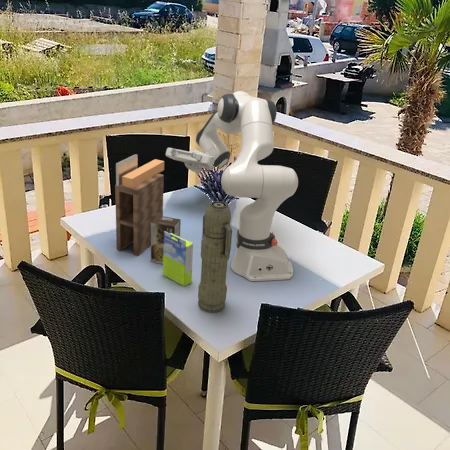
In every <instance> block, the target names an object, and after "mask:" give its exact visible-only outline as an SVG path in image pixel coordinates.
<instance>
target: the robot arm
mask: <svg viewBox="0 0 450 450" xmlns="http://www.w3.org/2000/svg"><path fill="white" fill-rule="evenodd" d="M277 111H278V109H277V105H276V104H275V102H274V101H273V100H270V99H268V98H260V97H257V96H252V95H250V94H249V93H248V92H246V91H243V90H237V91H235V92H232V93H225V94H223V95H222V96H221V97H220V99H219V101H218V104H217V110H215V111H214V112H213V113H212V115H210V117H209V118H208V120H207V121H206V123H205V124H204V125H203V127H202V128H201V129H200V130H199V131H198V132H197V134H196V137H195V142H196V144H197V145H198V146H199V147H200V149H201V150H202V151H200V150H198V149H191V150H189V151H187V150H183V149H178V148H177V149H176V148H173V147H167V148H166V150H165V156H166V157H167V158H169V159H172V160H174V161H179V162H182V163H184V165H185V167H186V169H188V170H190V171H191V172H193V173H195V174H196V175H198V176H200V175H199V172H201V171H202V168H203V167H205V168H206V169H211V170H212V169H213V165H214V166H215V167H217V166H219V170H221V169H222V168H224V167H225V166H226V165H227V164H228V163H229V160H230V158H231V151H230V150H229V148H228V147H227V146H226V144H225V143H224V141H223V140H222V138H221V136H220V135H219V133H218V131H217V130H218V128H219V129H220V130H221V131H222V132H224V133H226V134H230V135H236V134H238V133H240V150H239V151H240V152H239V154H238V156H237V158H236V159H235V160H234V161H233V162H232V164H230V165H228V166H227V167H226V168H225V169H224V170H223V172H222V174H221V179H220V180H221V181H220V182H221V183H220V184H221V187H222V189H223V191H224V192H225V194H226V195H228V196H232V197H236V198H247V199H248V198H250V199H251V198H253V199H255V198H256V199H255V201H253V202H251V203H249V204H247V205H246V206H244V207H243V209H242V210H241V211H240V213H239V223H238V224H239V225H238V230H237V232H236V236H235V237H236V238H235V240H236V241H235V245H236V248H235V253H234V256H233V259H232V261H231V262H230V268H231V270H232V271H233V272H234V273H235V274H237V275H239V276H241V277H244V278H245V279H246V280H247V281H249V282H266V281H268V282H269V281H281V280H284V281H285V280H291V279H292V278H293V276H294V268H293V265H292V262H291V261H290V260H289V259H288V255H287V253H286V251H285V249H284V248H283V247H281V246H280V245H279V244H278V240H277V239H276V235H275V234H274V232H273V231H271V228H272V224H273V223H272V222H273V218H274V216H275V213H276V211H277V209H278V208H279V207H280V205H282V204H283V203H284V201H286V200H287V199H288V198H290V197H292V196H293V195H294V194H295V193H296V191H297V188H298V186H299V178H298V174H297V173H296V171H295V170H294V169H293V168H291V167H287V166H283V165H276V164H275V165H272V164H271V165H269V164H268V165H267V164H265V165H264V164H259V163H258V162H259V161H261V160H263V159H265V158H267V157H269V156H270V155H271V154H272V153H273V151H274V147H275V143H274V131H273V124H274V123H276V122H275V121H276V119H277V114H278V113H277Z"/></svg>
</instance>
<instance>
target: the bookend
mask: <svg viewBox="0 0 450 450" xmlns="http://www.w3.org/2000/svg"><path fill="white" fill-rule="evenodd" d="M138 155H139V154H137V153H136V154H132V155H131V156H128V157H127V158H125V159H122V160H120V161H118V162H116V163H115V185H117V186H119V185H121V184H122V176H124V175H126V174H128V173H130V172H132V171H134V170H136V169H137V168H139V167H138V165H139V164H138V161H139V159H138Z"/></svg>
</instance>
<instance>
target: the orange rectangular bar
mask: <svg viewBox="0 0 450 450" xmlns="http://www.w3.org/2000/svg"><path fill="white" fill-rule="evenodd" d="M163 171H165V161H164V160H160V159H156V158H155V159H153V160H151V161H149V162H147V163H145V164H143V165H142V166H139V167H138V168H137V169H136V170H134V171H132V172H130V173H128V174H126V175H124V176H122V186H125V187H129V188H134V187H135V186H137V185H139V184H141V183H142V182H144V181H146V180H148V179H149V178H151V177H153V176H155V175H156V174H161V172H163Z"/></svg>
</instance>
